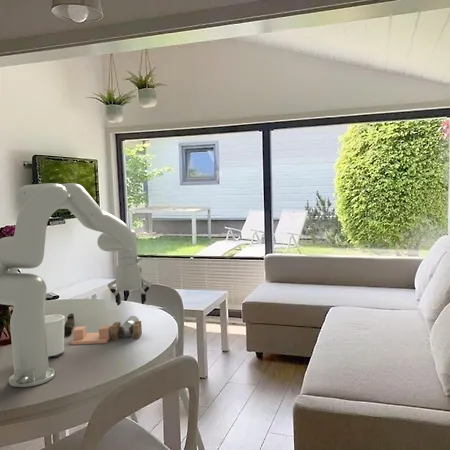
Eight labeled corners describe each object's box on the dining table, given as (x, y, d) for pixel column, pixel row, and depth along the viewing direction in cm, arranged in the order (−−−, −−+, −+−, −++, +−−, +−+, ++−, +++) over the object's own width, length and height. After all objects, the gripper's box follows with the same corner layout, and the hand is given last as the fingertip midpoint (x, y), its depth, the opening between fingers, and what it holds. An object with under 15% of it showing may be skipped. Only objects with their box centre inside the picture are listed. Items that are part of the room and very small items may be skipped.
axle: (132, 337, 171) (131, 324, 171) (119, 338, 171) (118, 325, 171) (139, 327, 183) (138, 315, 183) (127, 328, 183) (126, 316, 183)
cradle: (106, 343, 166) (105, 331, 165) (71, 344, 166) (70, 332, 165) (113, 334, 176) (112, 322, 175) (80, 335, 176) (79, 324, 175)
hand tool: (72, 336, 177) (71, 324, 176) (61, 337, 176) (60, 325, 176) (79, 322, 195) (78, 311, 195) (69, 323, 195) (69, 312, 194)
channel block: (138, 338, 169) (138, 325, 169) (111, 339, 169) (111, 326, 169) (141, 333, 175) (141, 320, 174) (116, 334, 175) (115, 321, 175)
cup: (37, 352, 159) (34, 316, 158) (66, 348, 162) (64, 312, 161) (36, 362, 150) (33, 324, 149) (67, 357, 153) (64, 319, 152)
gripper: (151, 258, 182) (154, 300, 184) (108, 260, 182) (111, 302, 184) (148, 261, 175) (151, 305, 176) (103, 264, 175) (106, 307, 177)
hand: (131, 303), depth 180 cm, fingers open, 9 cm apart
